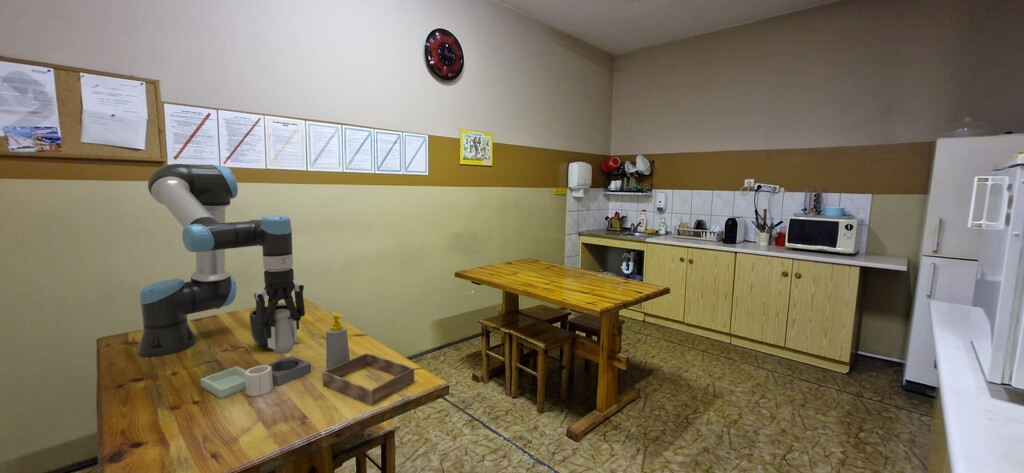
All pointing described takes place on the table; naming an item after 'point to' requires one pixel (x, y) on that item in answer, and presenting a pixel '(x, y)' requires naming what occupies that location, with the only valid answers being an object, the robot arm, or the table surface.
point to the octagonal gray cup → (258, 380)
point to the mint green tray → (225, 382)
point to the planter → (258, 331)
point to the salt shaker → (283, 332)
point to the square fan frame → (296, 370)
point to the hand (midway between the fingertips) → (282, 343)
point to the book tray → (368, 396)
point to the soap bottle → (336, 344)
